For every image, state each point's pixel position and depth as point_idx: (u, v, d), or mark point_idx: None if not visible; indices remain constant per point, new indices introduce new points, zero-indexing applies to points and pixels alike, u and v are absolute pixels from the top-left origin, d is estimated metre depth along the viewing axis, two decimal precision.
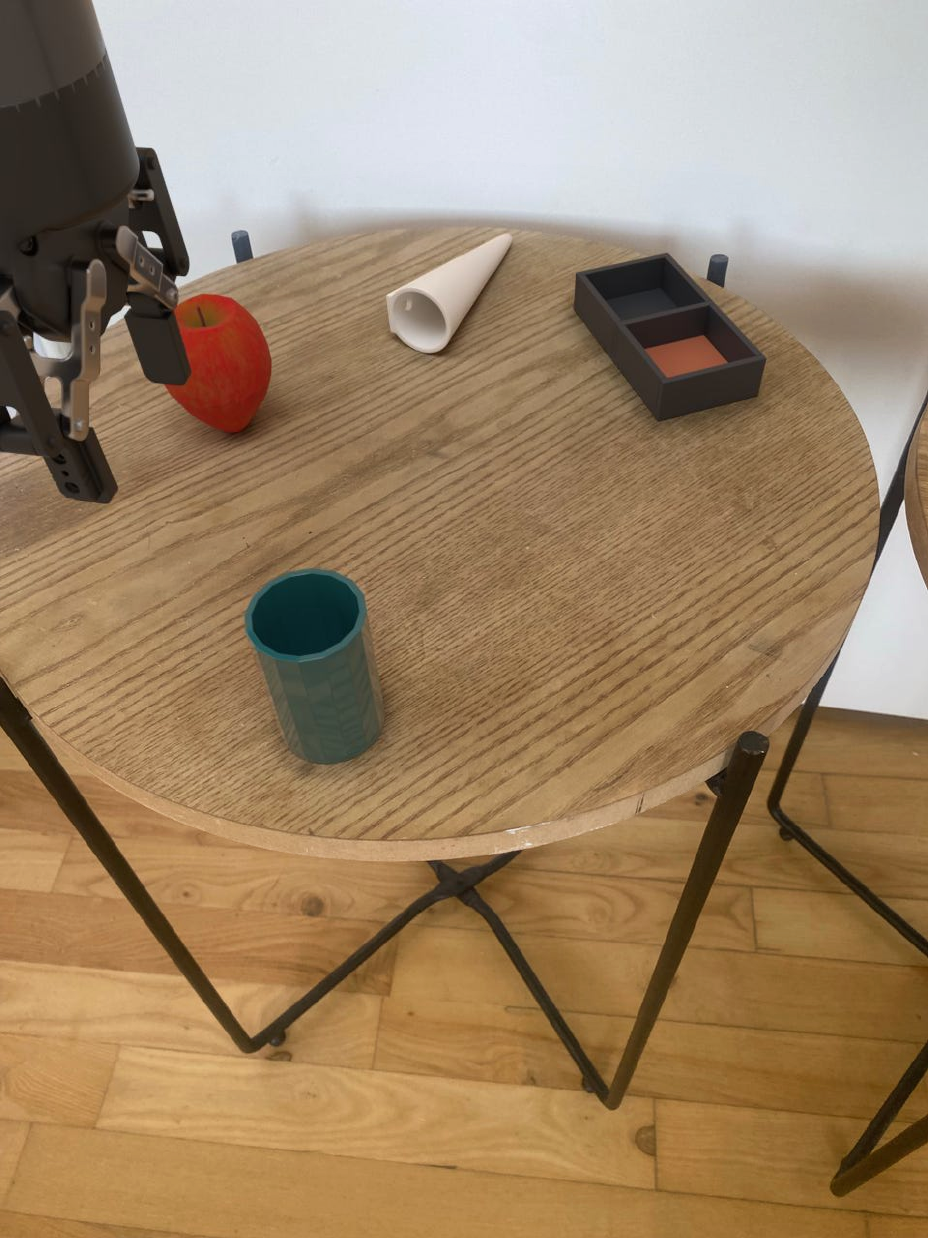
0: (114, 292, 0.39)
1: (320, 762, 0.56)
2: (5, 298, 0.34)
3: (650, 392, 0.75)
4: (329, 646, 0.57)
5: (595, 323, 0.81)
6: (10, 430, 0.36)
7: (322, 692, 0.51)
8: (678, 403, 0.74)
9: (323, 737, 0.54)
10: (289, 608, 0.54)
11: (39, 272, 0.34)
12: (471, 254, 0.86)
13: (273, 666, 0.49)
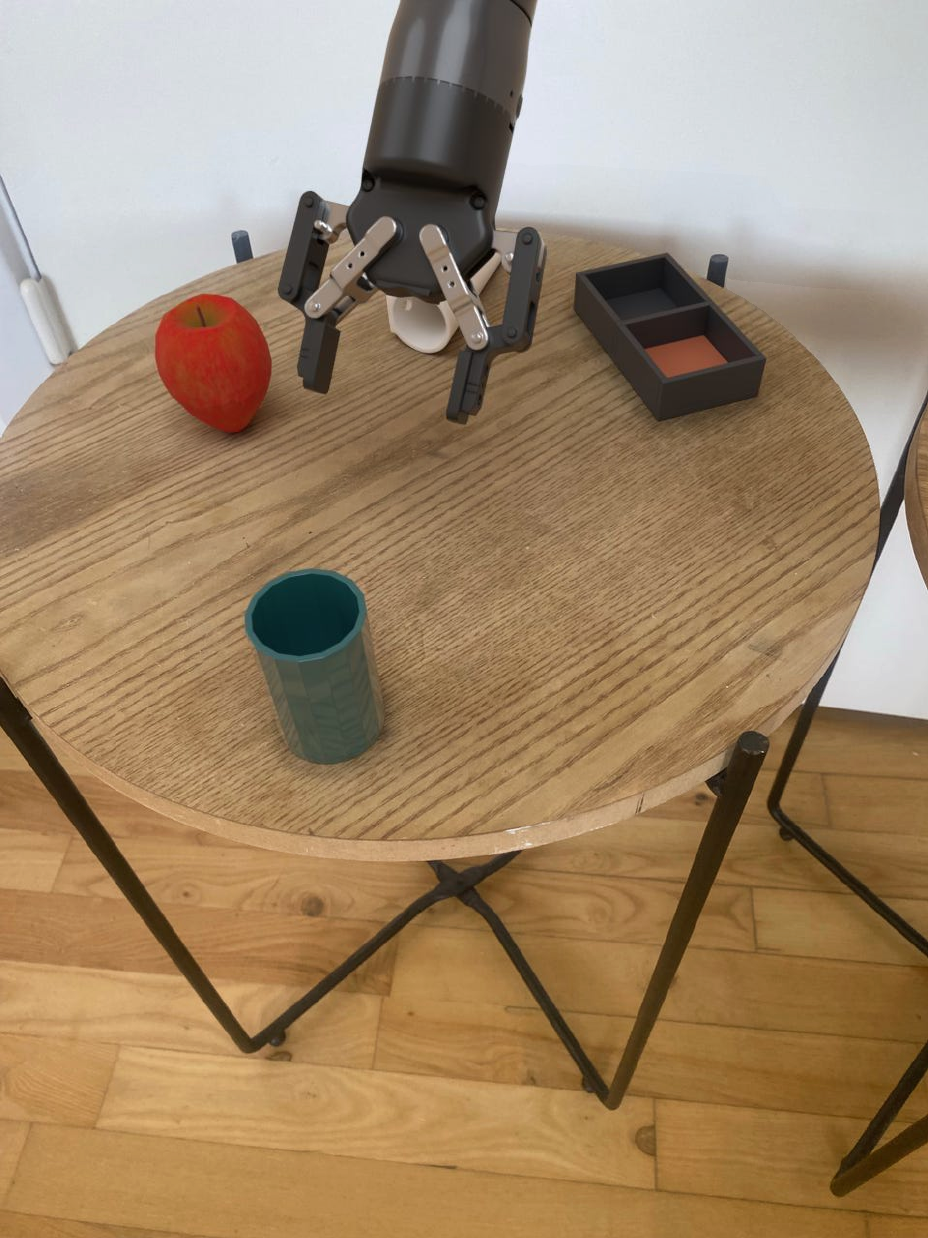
0: (415, 274, 0.51)
1: (320, 762, 0.56)
2: (339, 206, 0.52)
3: (650, 392, 0.75)
4: (329, 646, 0.57)
5: (595, 323, 0.81)
6: None
7: (322, 692, 0.51)
8: (678, 403, 0.74)
9: (323, 737, 0.54)
10: (289, 608, 0.54)
11: (361, 203, 0.51)
12: None
13: (273, 666, 0.49)
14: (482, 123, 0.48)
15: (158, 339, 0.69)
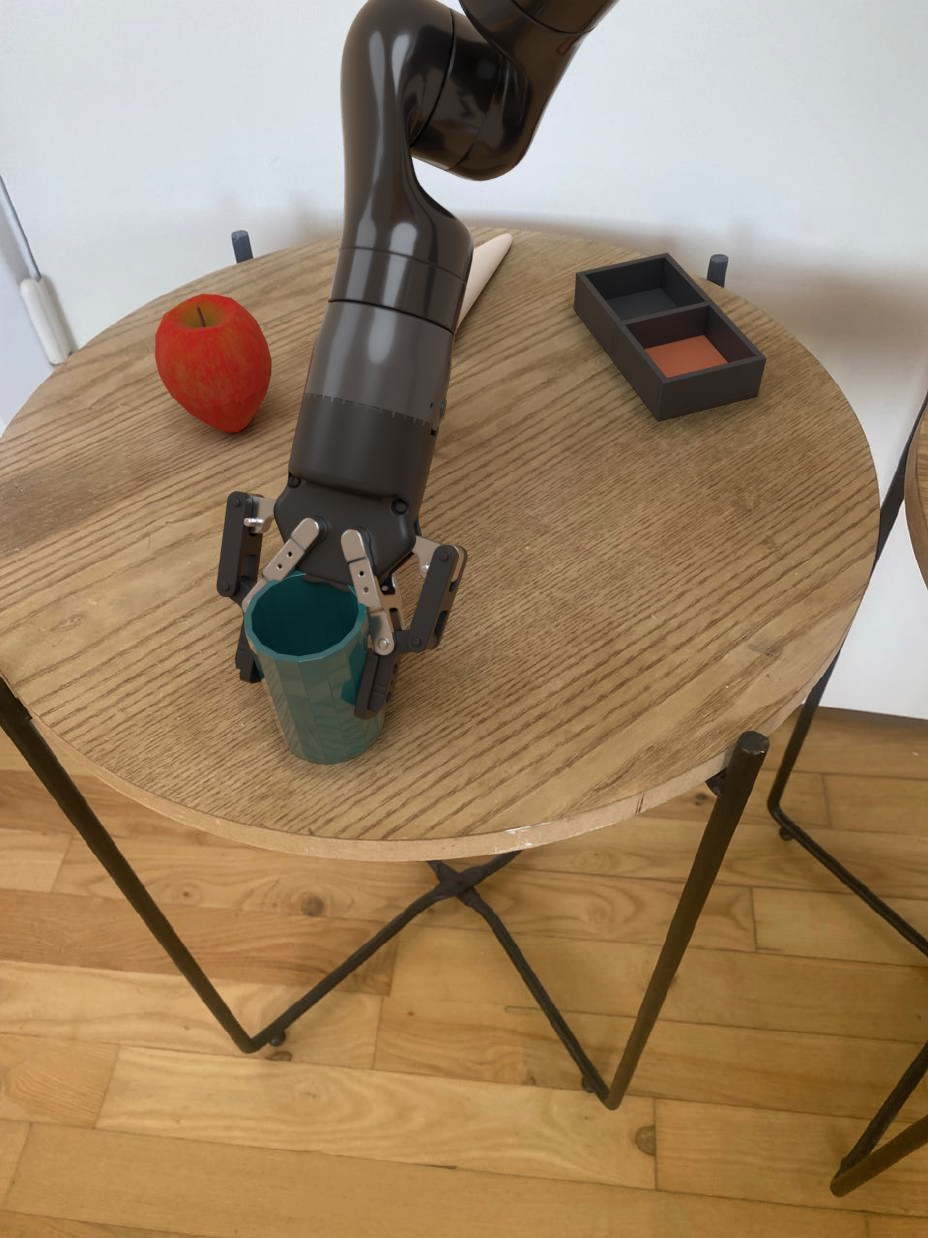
0: (339, 572, 0.52)
1: (320, 762, 0.56)
2: (266, 500, 0.53)
3: (650, 392, 0.75)
4: (329, 646, 0.57)
5: (595, 323, 0.81)
6: None
7: (322, 692, 0.51)
8: (678, 403, 0.74)
9: (322, 737, 0.54)
10: (289, 608, 0.54)
11: (285, 499, 0.52)
12: None
13: (273, 666, 0.49)
14: (400, 439, 0.49)
15: (158, 339, 0.69)
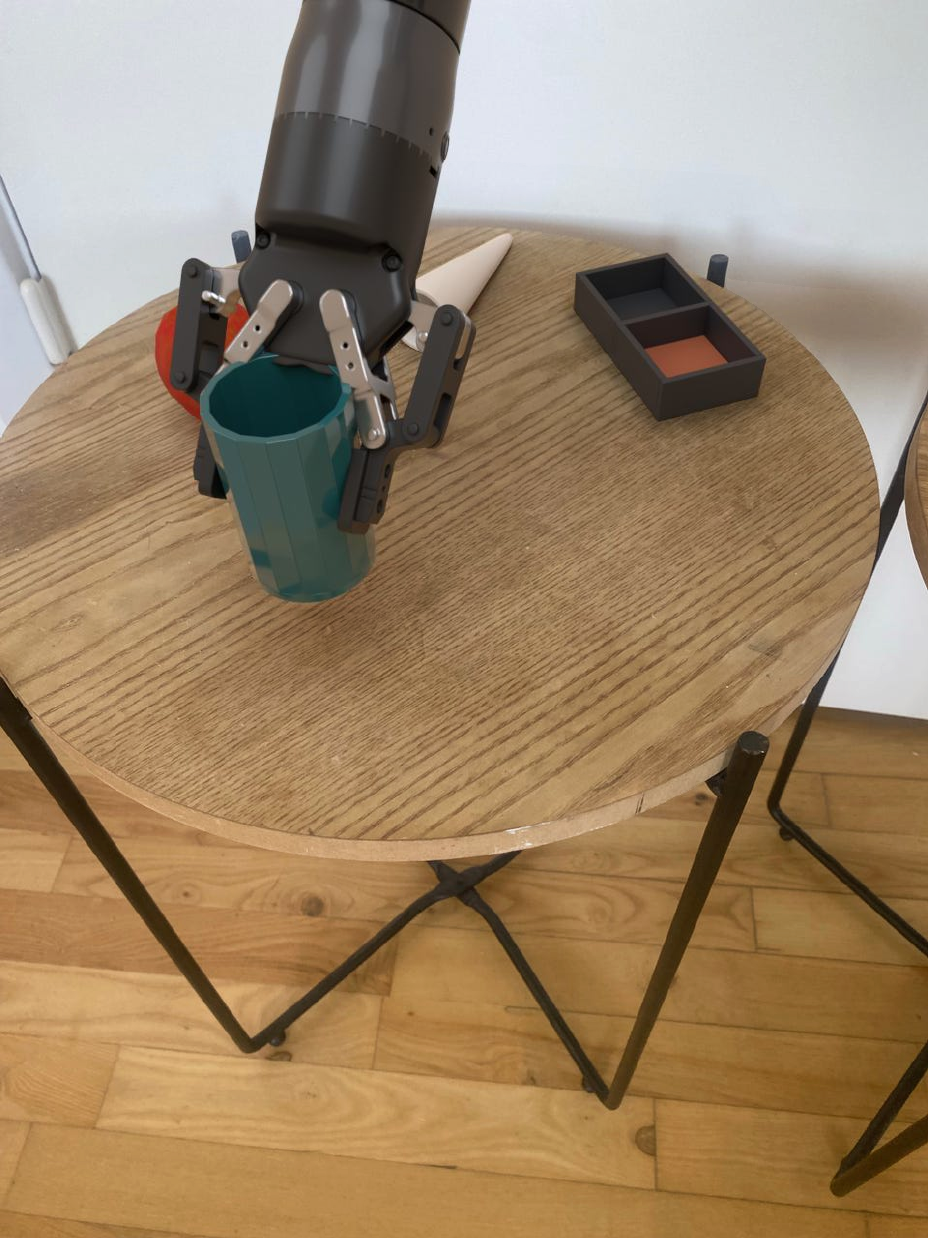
0: (318, 349, 0.42)
1: (298, 600, 0.46)
2: (229, 271, 0.44)
3: (650, 392, 0.75)
4: None
5: (595, 323, 0.81)
6: None
7: (297, 492, 0.41)
8: (678, 403, 0.74)
9: (300, 561, 0.44)
10: (258, 405, 0.44)
11: (252, 263, 0.43)
12: (471, 254, 0.86)
13: (235, 454, 0.40)
14: (392, 168, 0.39)
15: (158, 339, 0.69)
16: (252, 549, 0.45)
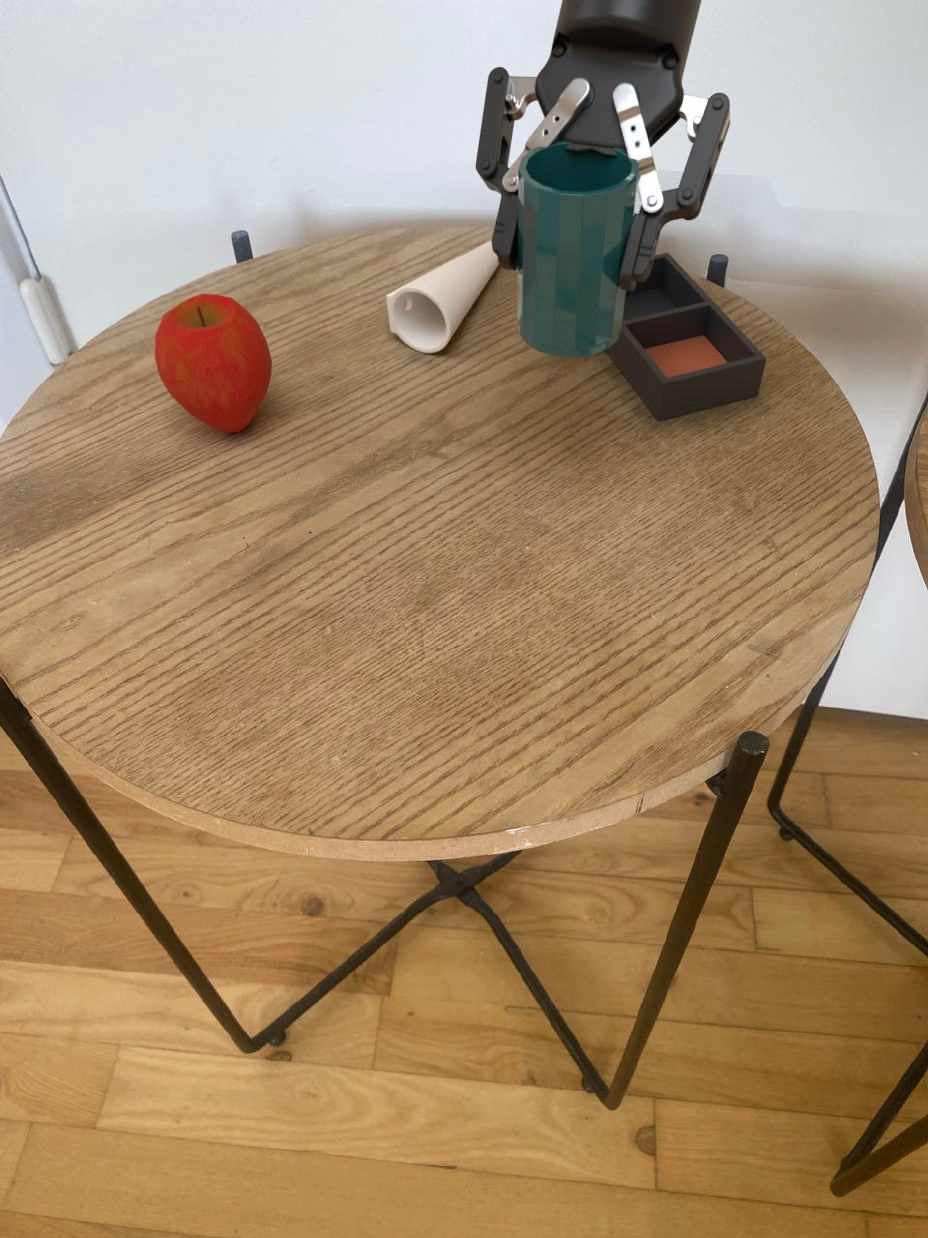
0: (605, 135, 0.53)
1: (567, 355, 0.57)
2: (525, 78, 0.54)
3: (650, 392, 0.75)
4: None
5: None
6: None
7: (594, 245, 0.52)
8: (678, 403, 0.74)
9: (579, 313, 0.55)
10: None
11: (550, 69, 0.53)
12: (471, 254, 0.86)
13: (553, 208, 0.50)
14: None
15: (158, 339, 0.69)
16: (538, 306, 0.55)
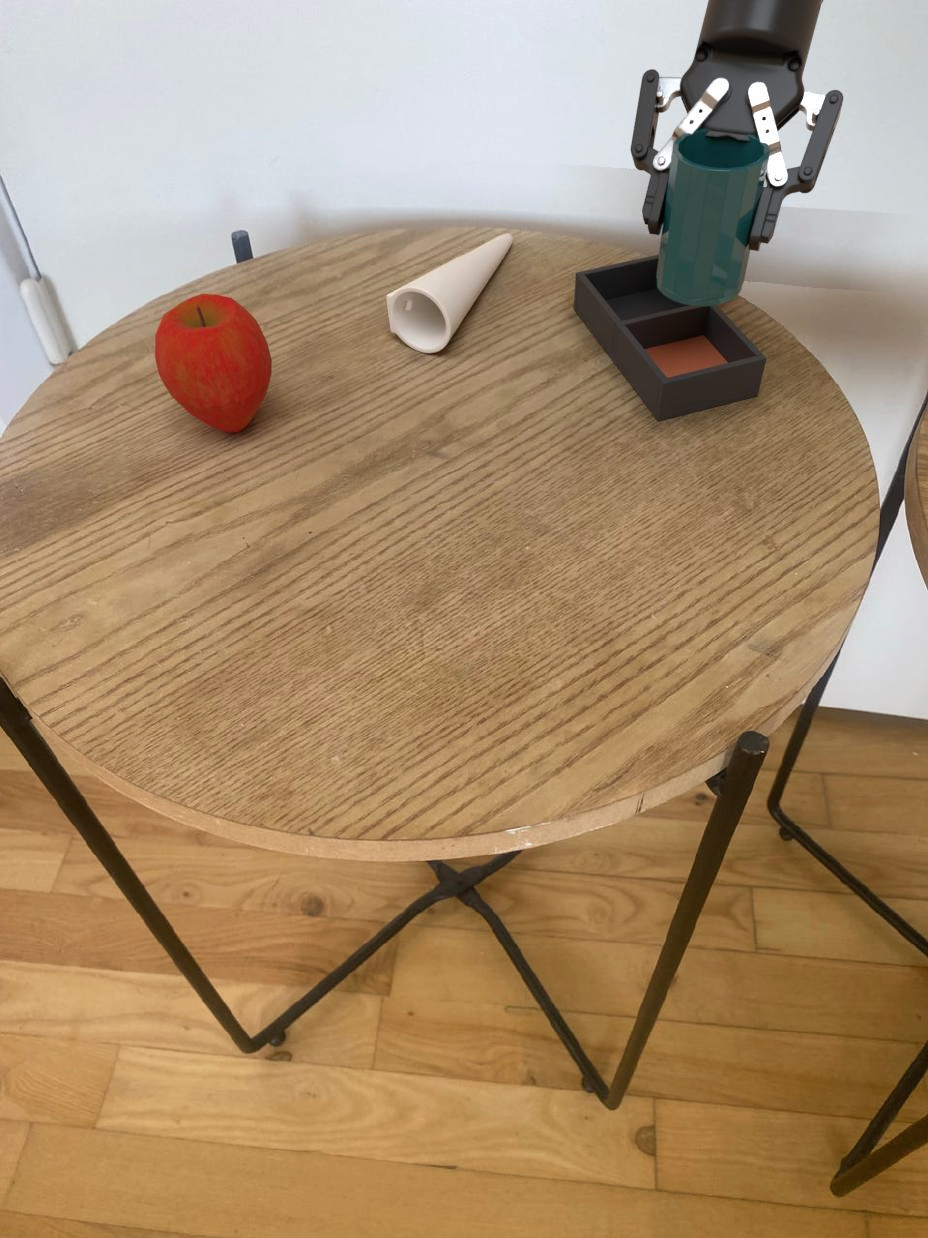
0: (740, 124, 0.65)
1: (700, 304, 0.70)
2: (672, 78, 0.67)
3: (650, 392, 0.75)
4: None
5: (595, 323, 0.81)
6: None
7: (733, 211, 0.64)
8: (678, 403, 0.74)
9: (714, 268, 0.68)
10: None
11: (694, 71, 0.66)
12: (471, 254, 0.86)
13: (703, 181, 0.63)
14: (805, 1, 0.63)
15: (158, 339, 0.69)
16: (680, 263, 0.68)
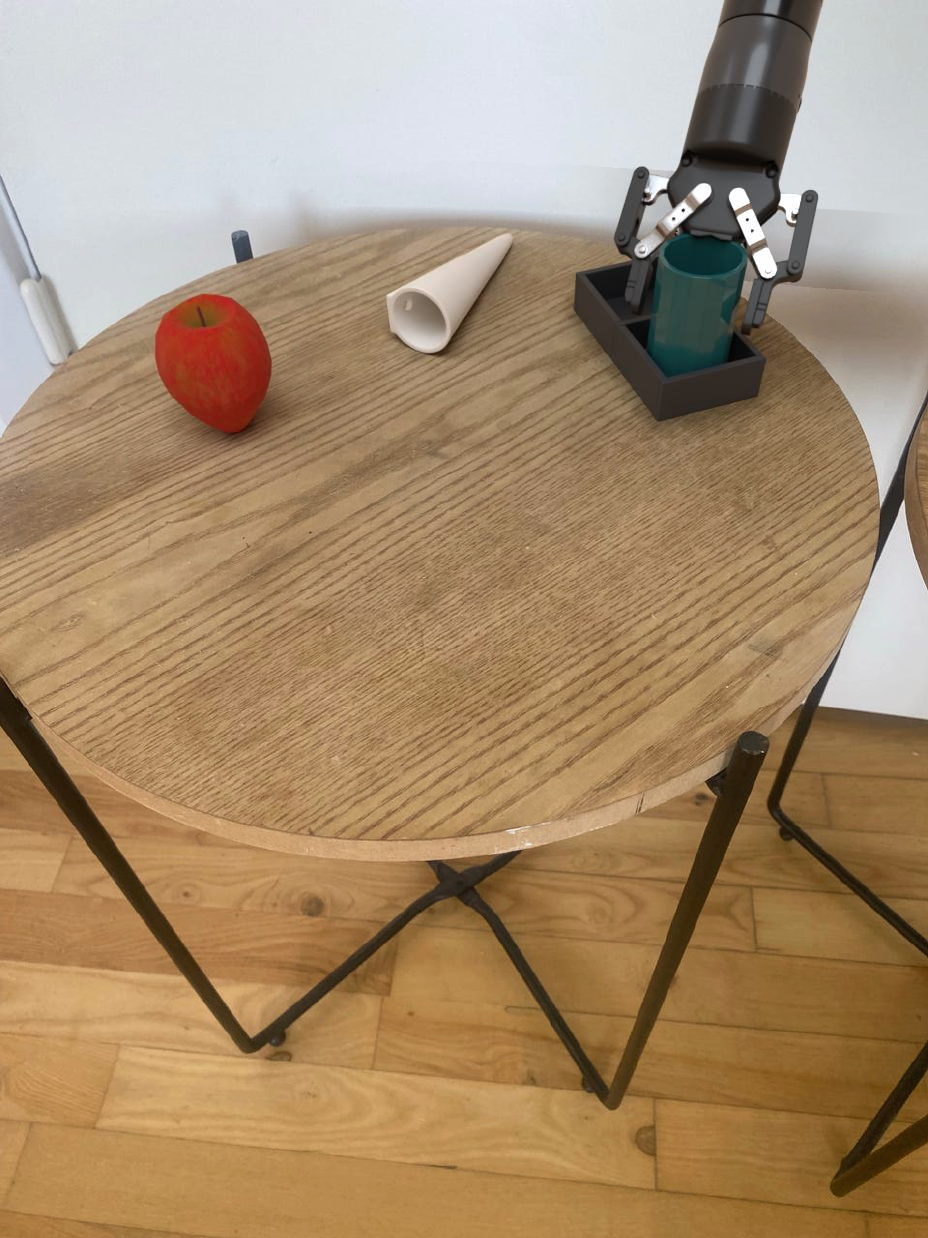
0: (722, 225, 0.71)
1: None
2: (661, 177, 0.73)
3: (650, 392, 0.75)
4: None
5: (595, 323, 0.81)
6: None
7: (714, 312, 0.70)
8: (678, 403, 0.74)
9: (698, 360, 0.73)
10: (673, 267, 0.74)
11: (680, 174, 0.72)
12: (471, 254, 0.86)
13: (686, 286, 0.69)
14: (781, 116, 0.68)
15: (158, 339, 0.69)
16: (666, 354, 0.74)
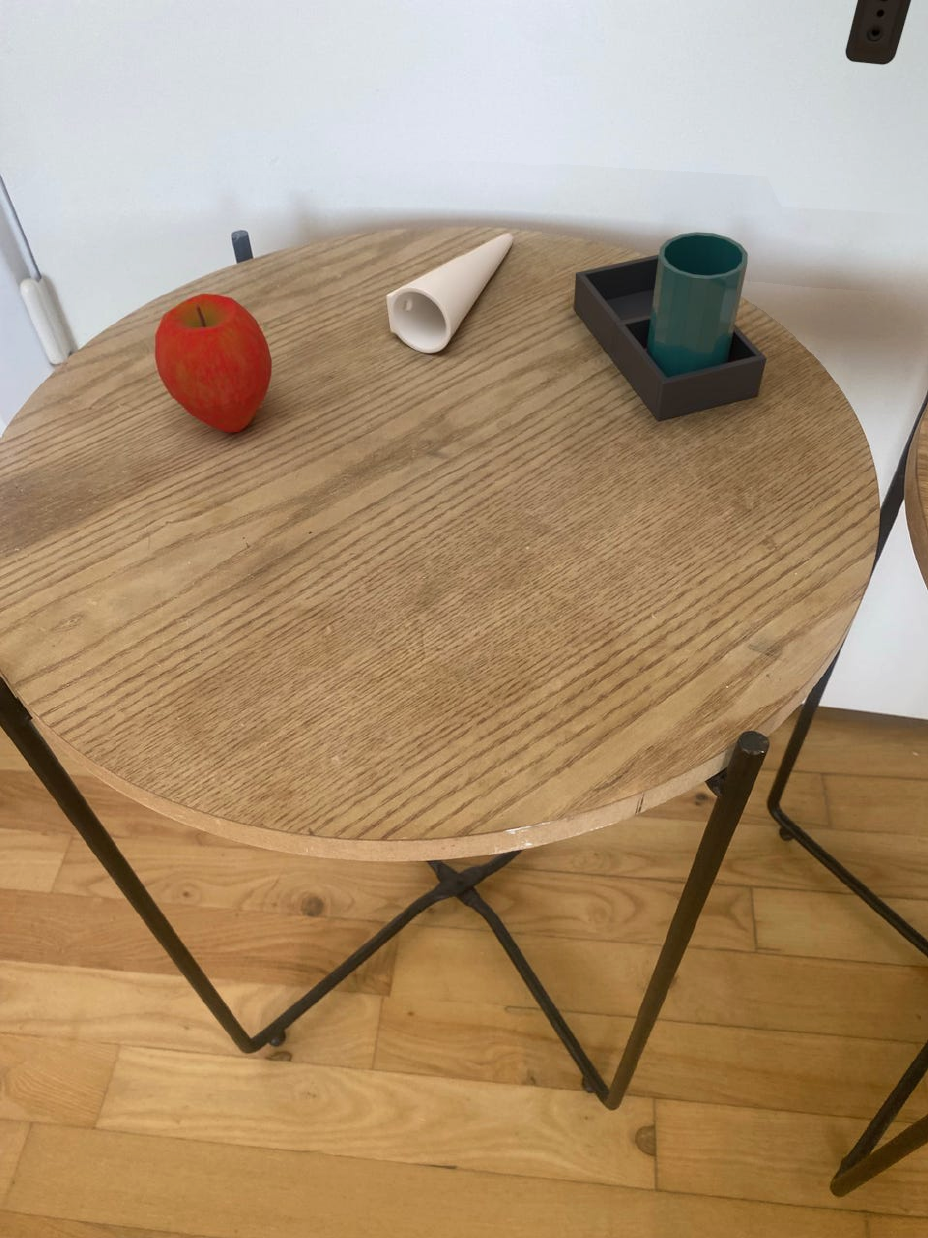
0: None
1: None
2: None
3: (650, 392, 0.75)
4: None
5: (595, 323, 0.81)
6: None
7: (714, 312, 0.70)
8: (678, 403, 0.74)
9: (698, 360, 0.73)
10: (673, 267, 0.74)
11: None
12: (472, 254, 0.86)
13: (686, 286, 0.69)
14: None
15: (158, 339, 0.69)
16: (666, 354, 0.74)
